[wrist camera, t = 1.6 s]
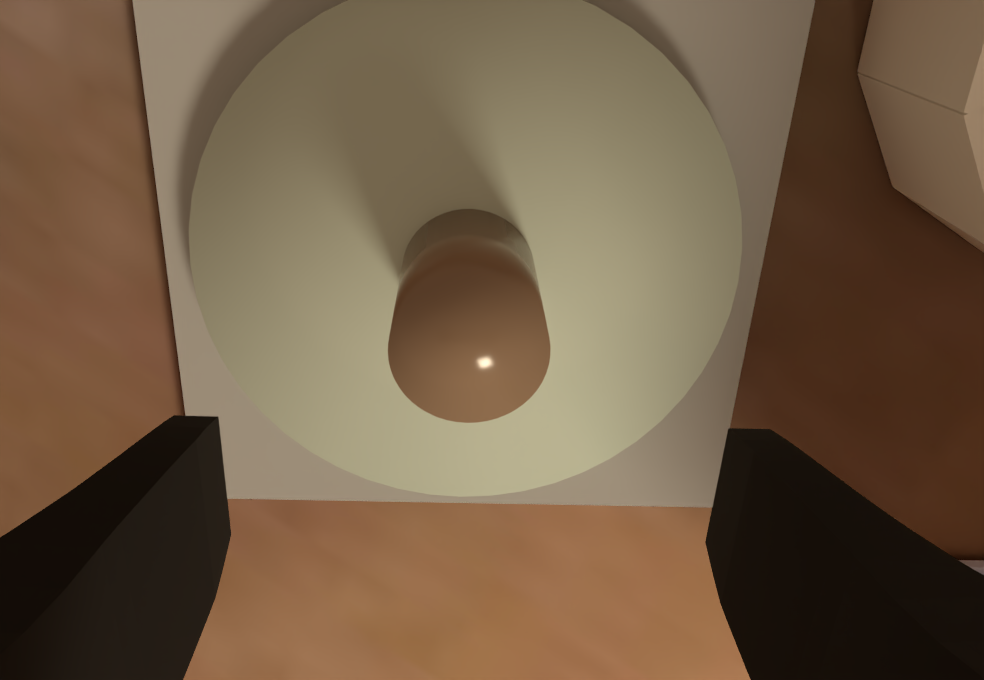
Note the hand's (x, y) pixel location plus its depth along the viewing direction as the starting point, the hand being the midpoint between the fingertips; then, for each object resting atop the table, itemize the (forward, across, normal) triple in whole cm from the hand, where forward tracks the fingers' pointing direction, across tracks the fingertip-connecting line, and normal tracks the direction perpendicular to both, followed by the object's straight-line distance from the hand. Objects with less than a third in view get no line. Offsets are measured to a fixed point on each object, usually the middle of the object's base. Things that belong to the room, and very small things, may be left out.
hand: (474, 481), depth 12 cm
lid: (+9, 0, 0) cm, 9 cm away
